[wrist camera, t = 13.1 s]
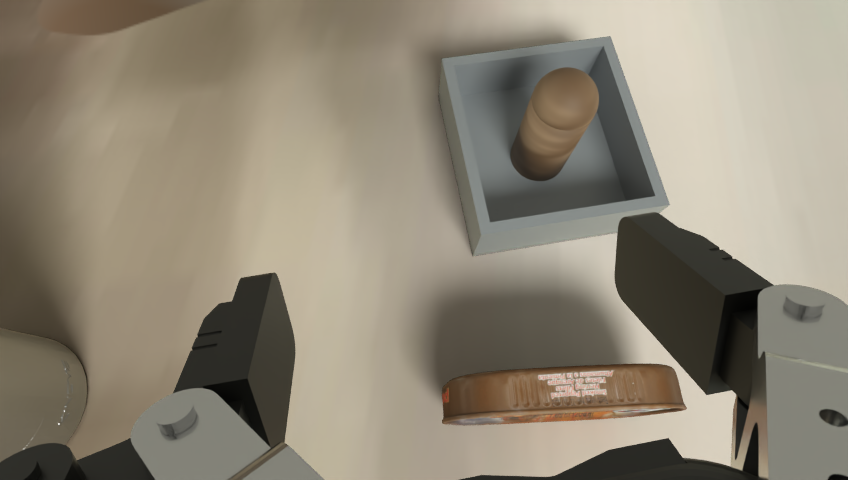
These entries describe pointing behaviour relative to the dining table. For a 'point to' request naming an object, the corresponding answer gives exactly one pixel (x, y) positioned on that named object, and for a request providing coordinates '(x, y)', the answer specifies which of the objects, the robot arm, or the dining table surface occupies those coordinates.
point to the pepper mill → (554, 123)
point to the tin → (561, 394)
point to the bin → (582, 173)
